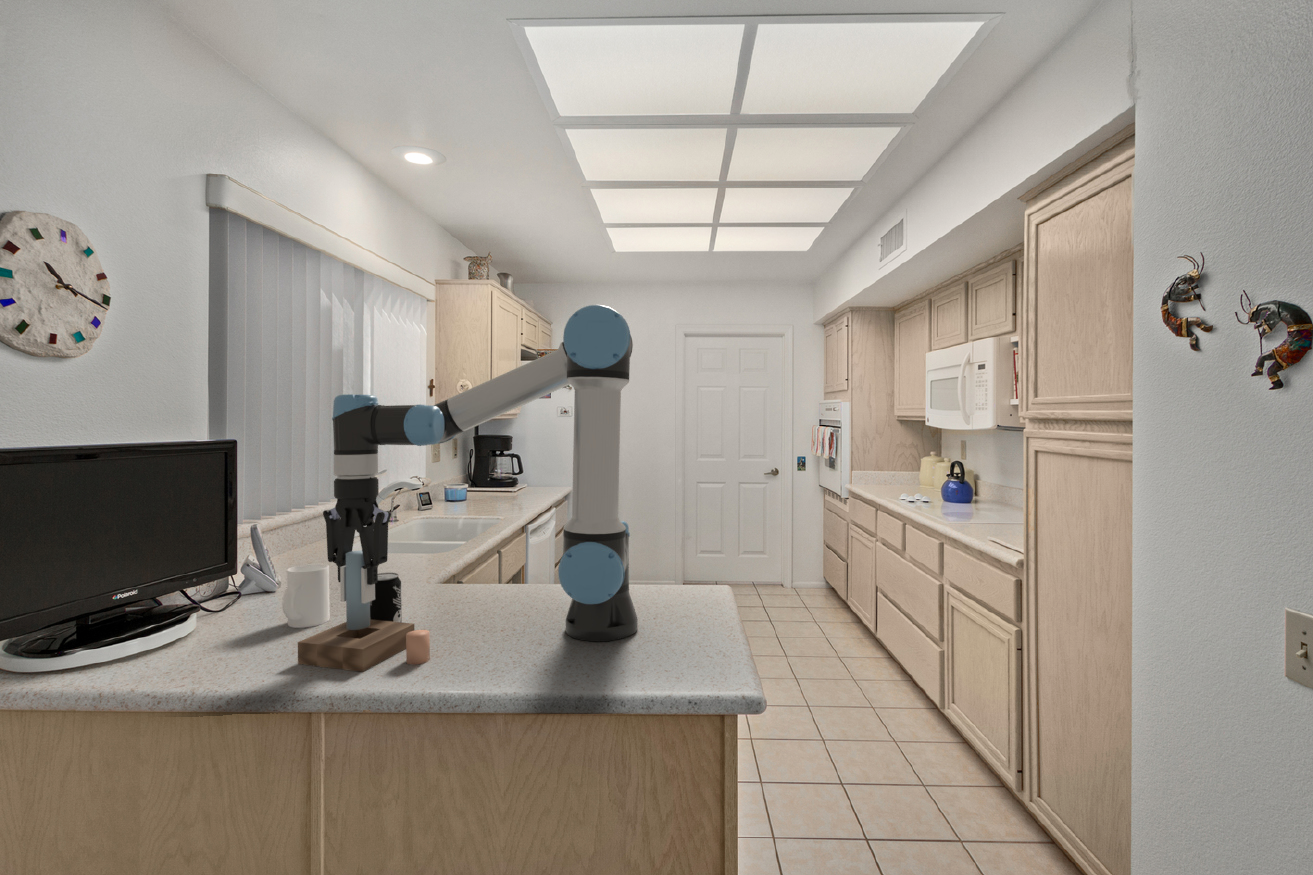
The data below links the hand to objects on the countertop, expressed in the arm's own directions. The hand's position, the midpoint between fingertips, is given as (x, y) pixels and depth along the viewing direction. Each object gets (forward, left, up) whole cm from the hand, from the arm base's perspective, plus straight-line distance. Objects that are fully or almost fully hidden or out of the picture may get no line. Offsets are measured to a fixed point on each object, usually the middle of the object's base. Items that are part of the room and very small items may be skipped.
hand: (358, 600), depth 114 cm
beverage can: (+3, -11, -10) cm, 15 cm away
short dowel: (-13, 0, -10) cm, 17 cm away
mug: (+24, -11, -10) cm, 28 cm away
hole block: (0, 0, -10) cm, 10 cm away
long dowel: (0, 0, -5) cm, 5 cm away
